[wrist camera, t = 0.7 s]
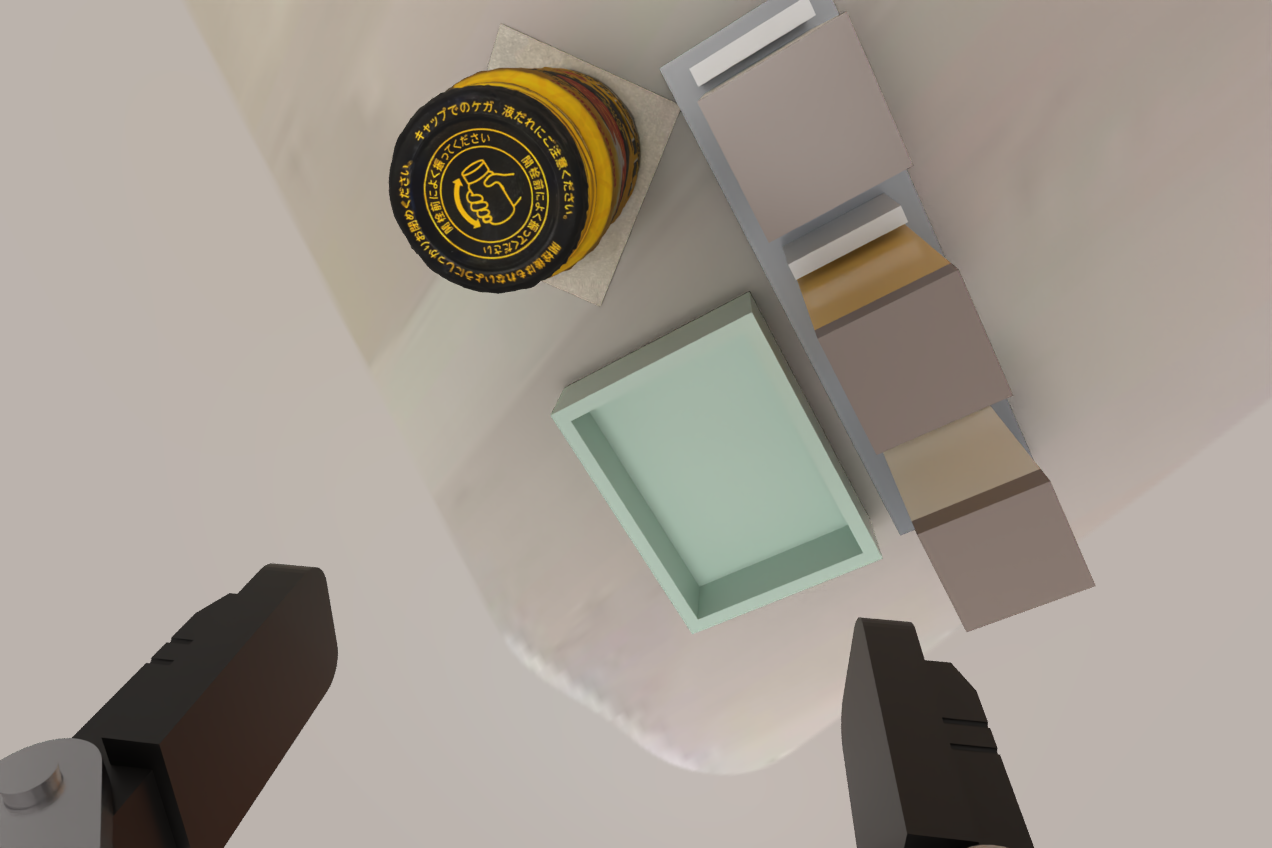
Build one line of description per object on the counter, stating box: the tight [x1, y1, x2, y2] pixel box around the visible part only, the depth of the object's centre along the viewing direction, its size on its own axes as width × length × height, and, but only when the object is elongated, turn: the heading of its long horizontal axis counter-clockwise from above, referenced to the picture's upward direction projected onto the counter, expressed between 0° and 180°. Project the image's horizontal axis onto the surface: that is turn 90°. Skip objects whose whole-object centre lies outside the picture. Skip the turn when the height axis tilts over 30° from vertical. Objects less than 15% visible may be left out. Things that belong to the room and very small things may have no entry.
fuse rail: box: [659, 0, 1095, 632], centre depth 27 cm, size 6×21×11 cm, turn 30°
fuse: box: [797, 224, 1013, 455], centre depth 26 cm, size 4×4×9 cm
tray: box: [551, 292, 883, 634], centre depth 34 cm, size 9×12×3 cm
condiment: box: [389, 24, 680, 306], centre depth 26 cm, size 7×8×12 cm
